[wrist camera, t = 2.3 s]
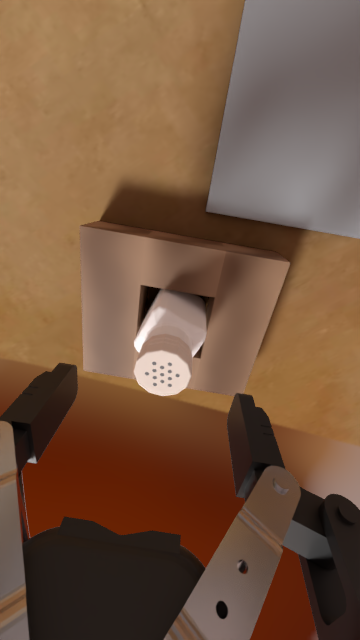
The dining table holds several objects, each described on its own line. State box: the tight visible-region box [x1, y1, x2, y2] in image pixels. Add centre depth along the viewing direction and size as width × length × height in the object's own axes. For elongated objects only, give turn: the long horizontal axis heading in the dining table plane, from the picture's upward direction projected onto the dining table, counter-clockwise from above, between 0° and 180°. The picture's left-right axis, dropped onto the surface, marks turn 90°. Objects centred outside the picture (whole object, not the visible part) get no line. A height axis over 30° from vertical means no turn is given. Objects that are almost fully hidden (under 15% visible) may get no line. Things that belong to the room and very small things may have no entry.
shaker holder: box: [80, 221, 290, 396], centre depth 20 cm, size 14×12×4 cm
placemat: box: [206, 0, 360, 239], centre depth 16 cm, size 16×12×1 cm
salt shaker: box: [134, 288, 207, 396], centre depth 18 cm, size 4×4×10 cm
